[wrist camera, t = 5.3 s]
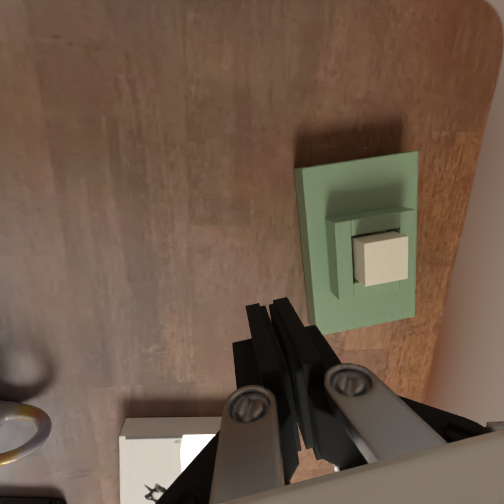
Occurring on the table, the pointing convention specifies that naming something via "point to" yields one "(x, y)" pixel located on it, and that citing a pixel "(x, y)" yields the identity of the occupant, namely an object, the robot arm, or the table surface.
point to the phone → (29, 501)
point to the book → (159, 453)
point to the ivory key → (380, 258)
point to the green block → (351, 226)
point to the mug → (13, 411)
